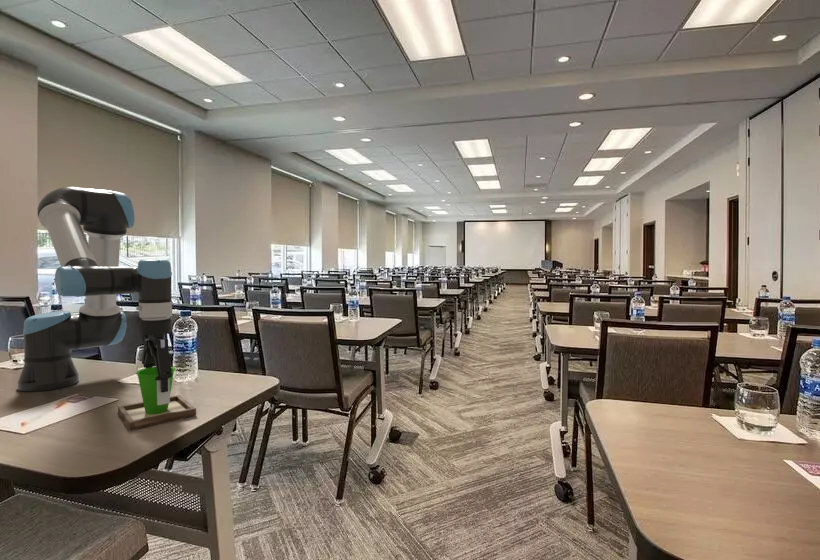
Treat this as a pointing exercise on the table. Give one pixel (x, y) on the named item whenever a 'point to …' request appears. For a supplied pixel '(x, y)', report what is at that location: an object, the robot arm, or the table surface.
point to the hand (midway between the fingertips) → (156, 397)
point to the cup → (151, 390)
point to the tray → (139, 418)
